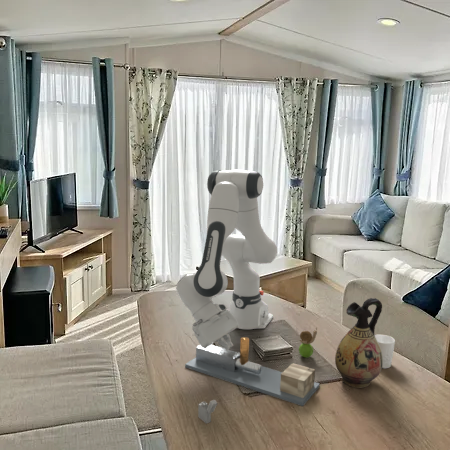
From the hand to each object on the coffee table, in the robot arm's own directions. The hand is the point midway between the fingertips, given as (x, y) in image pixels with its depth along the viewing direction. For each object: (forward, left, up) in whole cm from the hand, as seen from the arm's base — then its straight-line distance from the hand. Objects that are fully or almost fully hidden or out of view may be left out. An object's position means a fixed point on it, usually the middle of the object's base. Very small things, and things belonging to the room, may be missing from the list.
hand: (230, 348), depth 173 cm
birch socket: (0, +26, -7) cm, 27 cm away
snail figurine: (-25, +19, -9) cm, 32 cm away
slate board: (0, +8, -8) cm, 12 cm away
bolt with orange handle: (0, 0, -6) cm, 6 cm away
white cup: (-35, +44, -9) cm, 57 cm away
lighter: (+30, +11, -9) cm, 33 cm away
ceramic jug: (-18, +41, -9) cm, 45 cm away
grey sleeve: (0, -5, -7) cm, 9 cm away
